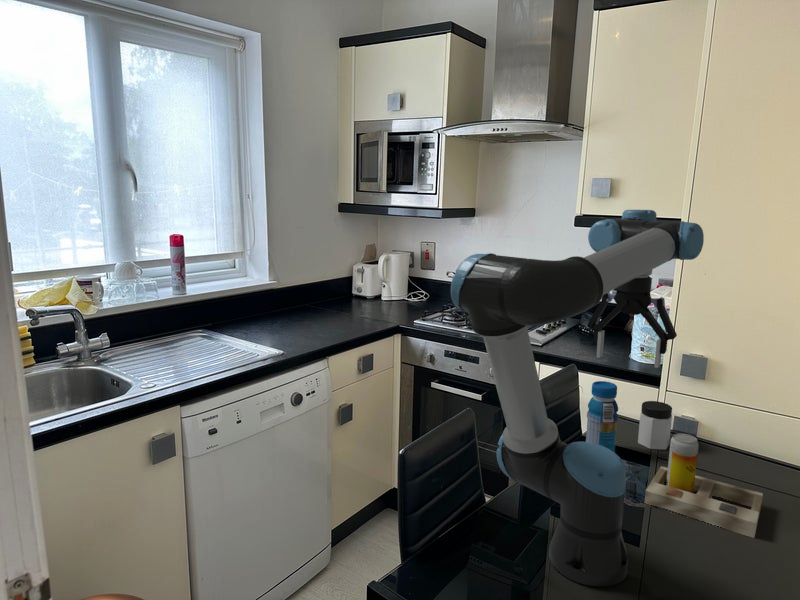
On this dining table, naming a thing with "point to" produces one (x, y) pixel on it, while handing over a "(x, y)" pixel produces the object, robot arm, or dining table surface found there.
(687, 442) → the beer can
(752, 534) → the socket board
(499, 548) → the dining table surface
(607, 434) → the beverage bottle
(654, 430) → the jar
